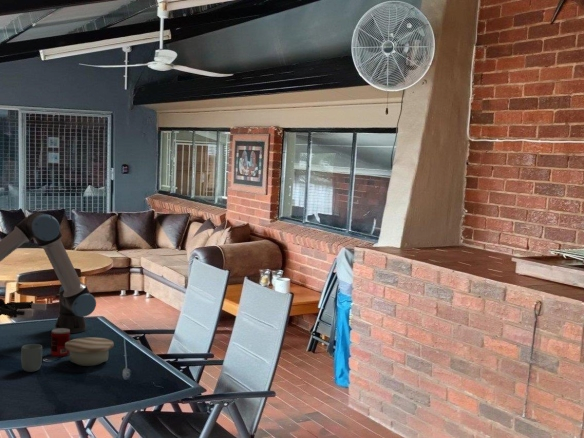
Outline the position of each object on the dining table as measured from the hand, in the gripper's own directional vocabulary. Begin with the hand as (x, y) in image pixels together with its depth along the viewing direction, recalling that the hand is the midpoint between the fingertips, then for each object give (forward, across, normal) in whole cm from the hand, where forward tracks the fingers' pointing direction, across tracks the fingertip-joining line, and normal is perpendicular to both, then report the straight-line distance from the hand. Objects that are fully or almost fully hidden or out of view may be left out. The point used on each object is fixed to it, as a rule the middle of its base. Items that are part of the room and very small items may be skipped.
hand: (39, 310), depth 293 cm
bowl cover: (+26, +8, -12) cm, 30 cm away
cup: (+8, +24, -20) cm, 32 cm away
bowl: (+26, +8, -19) cm, 33 cm away
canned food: (+10, 0, -20) cm, 22 cm away
